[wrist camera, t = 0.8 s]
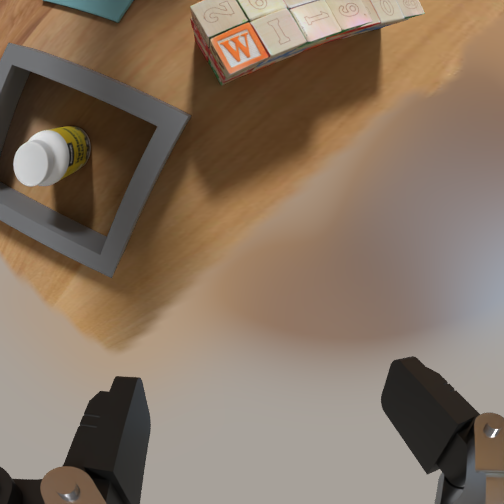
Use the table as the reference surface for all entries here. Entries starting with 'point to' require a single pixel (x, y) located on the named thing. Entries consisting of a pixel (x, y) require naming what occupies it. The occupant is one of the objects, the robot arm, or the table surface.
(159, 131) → the box
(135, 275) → the table surface
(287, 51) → the stack of blocks
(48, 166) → the supplement bottle
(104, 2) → the mat
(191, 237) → the table surface
